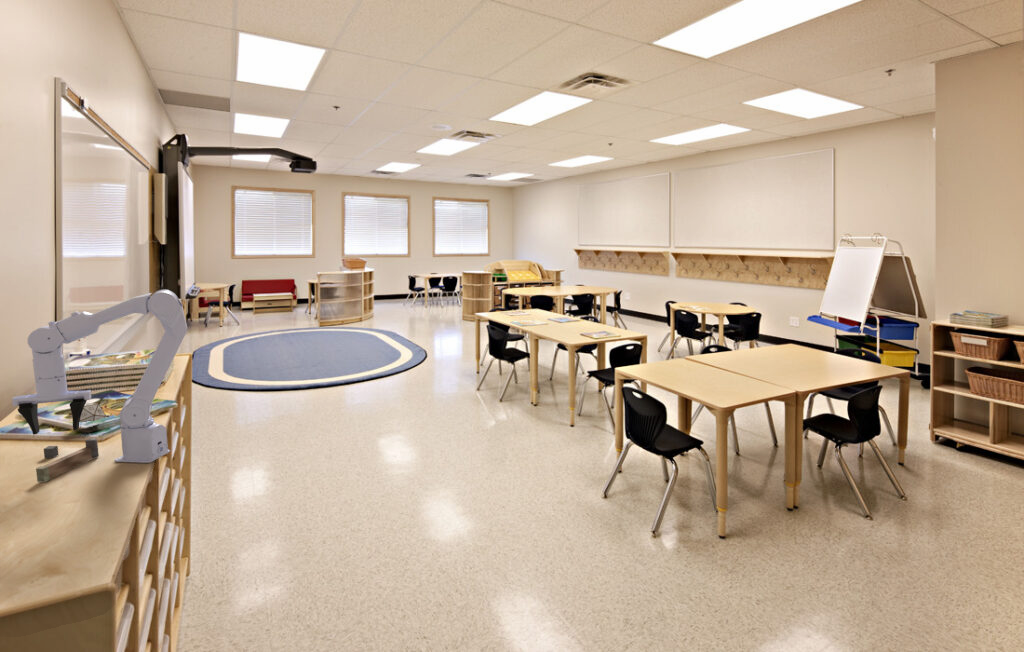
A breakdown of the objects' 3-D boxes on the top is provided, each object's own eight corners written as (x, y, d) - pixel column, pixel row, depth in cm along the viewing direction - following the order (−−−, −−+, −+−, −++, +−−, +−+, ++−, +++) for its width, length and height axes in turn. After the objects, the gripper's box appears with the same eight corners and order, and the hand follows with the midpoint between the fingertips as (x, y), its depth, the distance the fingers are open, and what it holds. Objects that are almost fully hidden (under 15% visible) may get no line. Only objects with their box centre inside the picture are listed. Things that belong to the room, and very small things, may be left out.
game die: (86, 439, 163) (76, 409, 165) (117, 426, 166) (107, 397, 168) (69, 434, 155) (59, 403, 157) (102, 420, 158) (92, 390, 160)
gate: (92, 455, 141) (90, 438, 140) (101, 455, 141) (99, 438, 140) (36, 481, 125) (33, 462, 124) (46, 482, 125) (44, 462, 124)
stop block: (58, 455, 141) (57, 445, 141) (53, 457, 139) (52, 448, 139) (50, 455, 141) (49, 446, 141) (44, 458, 139) (43, 448, 139)
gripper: (92, 370, 136) (97, 422, 138) (17, 375, 130) (23, 429, 132) (84, 376, 130) (90, 430, 132) (5, 382, 124) (13, 439, 126)
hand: (56, 430), depth 132 cm, fingers open, 7 cm apart
